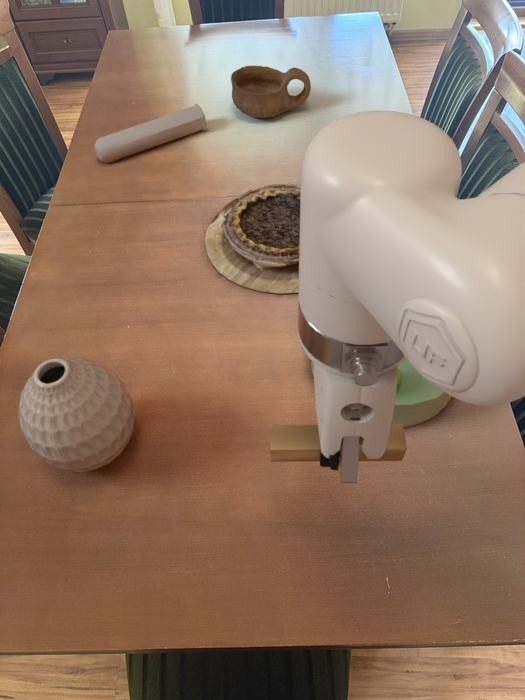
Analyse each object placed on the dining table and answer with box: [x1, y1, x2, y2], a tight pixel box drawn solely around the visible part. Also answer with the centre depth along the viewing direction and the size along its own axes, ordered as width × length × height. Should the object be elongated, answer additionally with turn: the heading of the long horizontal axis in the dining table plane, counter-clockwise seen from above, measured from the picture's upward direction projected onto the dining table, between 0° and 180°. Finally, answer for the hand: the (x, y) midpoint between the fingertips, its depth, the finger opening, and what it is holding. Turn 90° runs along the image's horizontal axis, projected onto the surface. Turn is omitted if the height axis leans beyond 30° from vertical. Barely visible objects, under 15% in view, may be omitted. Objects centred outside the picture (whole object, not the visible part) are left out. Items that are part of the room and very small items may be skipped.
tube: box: [93, 103, 207, 164], centre depth 111 cm, size 5×5×25 cm
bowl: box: [230, 65, 312, 119], centre depth 116 cm, size 18×14×10 cm
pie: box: [204, 183, 301, 294], centre depth 90 cm, size 28×27×5 cm
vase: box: [18, 356, 135, 473], centre depth 61 cm, size 13×13×17 cm
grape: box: [397, 368, 402, 388], centre depth 69 cm, size 4×4×4 cm
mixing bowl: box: [310, 357, 452, 428], centre depth 71 cm, size 21×21×6 cm
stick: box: [269, 424, 408, 463], centre depth 46 cm, size 2×12×2 cm, turn 89°
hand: (336, 446), depth 47 cm, fingers closed on stick, 2 cm apart
